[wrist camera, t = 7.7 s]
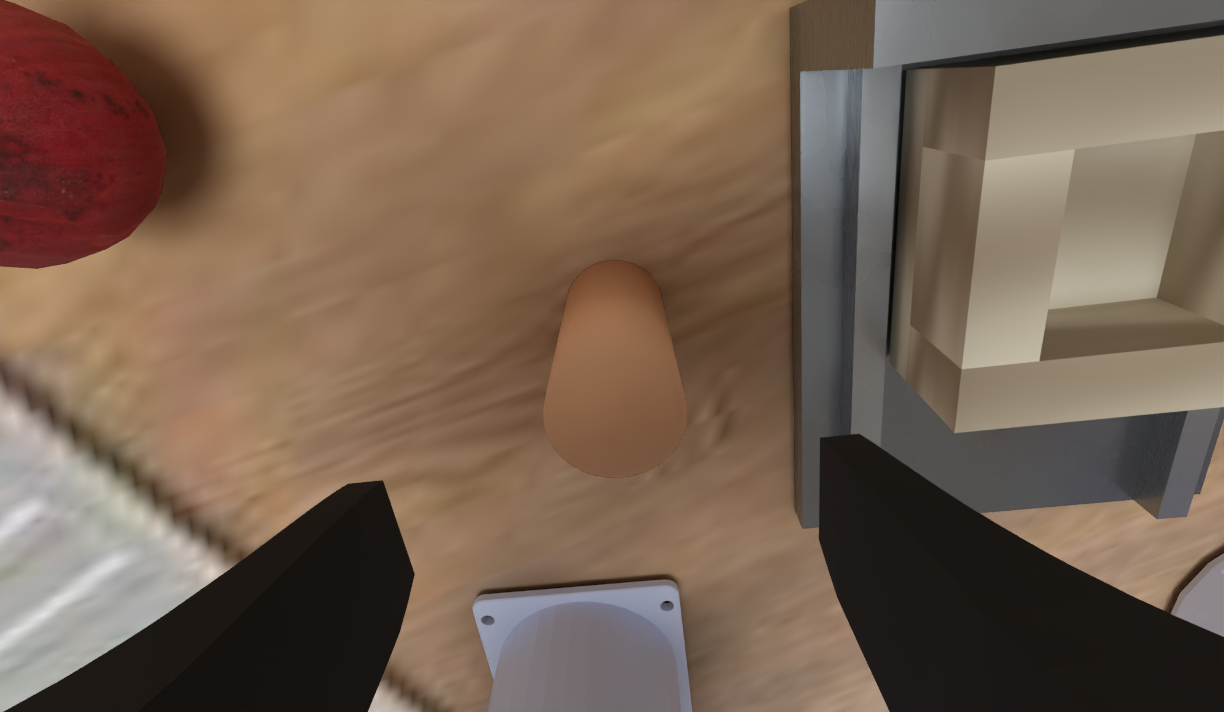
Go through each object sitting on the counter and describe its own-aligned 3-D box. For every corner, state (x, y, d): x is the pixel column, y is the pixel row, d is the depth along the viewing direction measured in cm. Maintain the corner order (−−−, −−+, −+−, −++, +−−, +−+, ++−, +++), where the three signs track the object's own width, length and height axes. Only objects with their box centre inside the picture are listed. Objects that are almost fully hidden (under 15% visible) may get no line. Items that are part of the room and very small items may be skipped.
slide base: (1175, 476, 21) (1365, 612, 16) (795, 510, 22) (850, 650, 17) (1335, -73, 15) (1750, -162, 9) (789, 7, 16) (877, -30, 10)
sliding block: (1172, 332, 18) (1313, 398, 14) (889, 363, 18) (954, 432, 15) (1253, 21, 15) (1463, 1, 11) (906, 69, 15) (995, 66, 11)
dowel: (668, 343, 20) (695, 467, 13) (576, 358, 20) (558, 486, 13) (655, 252, 18) (678, 340, 12) (557, 268, 19) (528, 363, 12)
